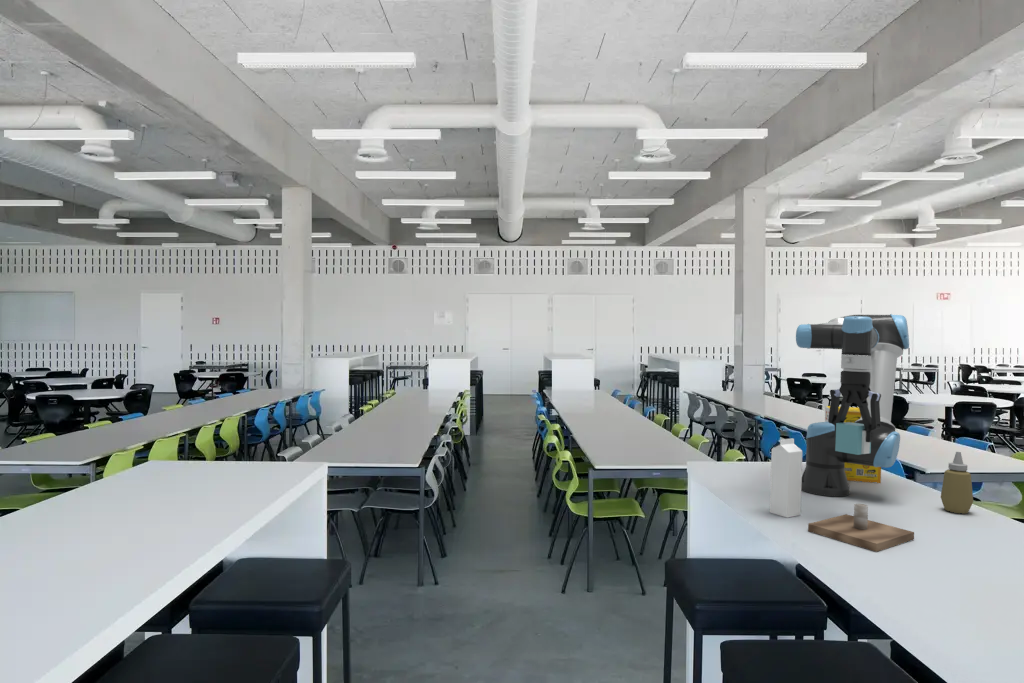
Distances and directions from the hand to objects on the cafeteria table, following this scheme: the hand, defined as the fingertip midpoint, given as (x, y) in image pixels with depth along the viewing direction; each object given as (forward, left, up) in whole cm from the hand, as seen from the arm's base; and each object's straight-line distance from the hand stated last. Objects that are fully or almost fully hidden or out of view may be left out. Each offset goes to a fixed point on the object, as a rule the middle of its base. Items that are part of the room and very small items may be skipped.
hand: (852, 451), depth 181 cm
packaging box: (-31, +54, -20) cm, 65 cm away
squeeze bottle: (+11, +37, -20) cm, 44 cm away
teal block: (0, 0, 0) cm, 0 cm away
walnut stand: (+9, -12, -20) cm, 25 cm away
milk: (-13, -12, -20) cm, 26 cm away
